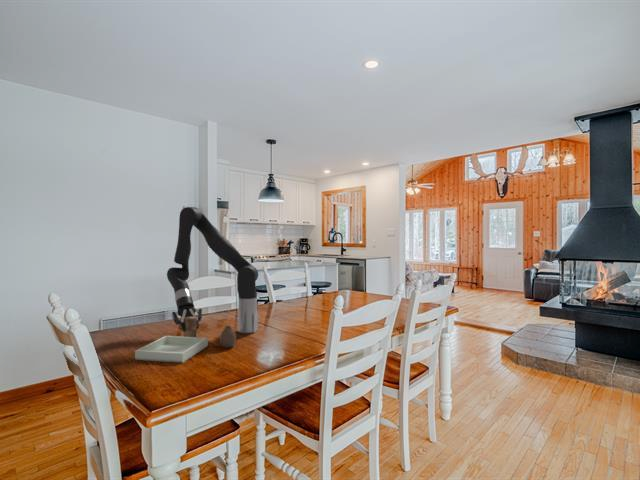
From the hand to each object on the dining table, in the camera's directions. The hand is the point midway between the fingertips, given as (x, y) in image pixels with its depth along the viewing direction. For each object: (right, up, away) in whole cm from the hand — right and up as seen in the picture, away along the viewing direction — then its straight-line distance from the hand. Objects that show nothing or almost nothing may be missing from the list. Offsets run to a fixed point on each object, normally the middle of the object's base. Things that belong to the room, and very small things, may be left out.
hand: (190, 329), depth 155 cm
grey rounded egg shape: (+20, -5, -9) cm, 22 cm away
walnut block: (-1, -5, +2) cm, 5 cm away
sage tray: (-1, -5, -17) cm, 17 cm away
